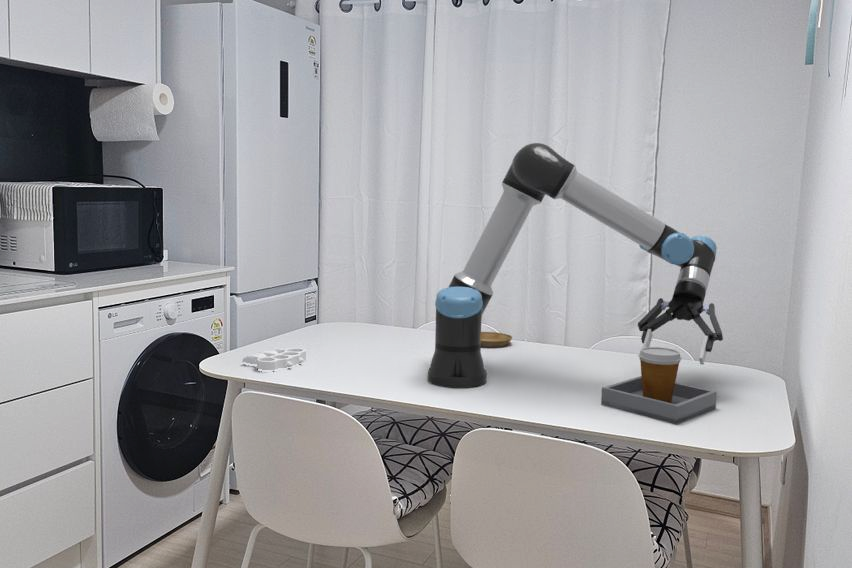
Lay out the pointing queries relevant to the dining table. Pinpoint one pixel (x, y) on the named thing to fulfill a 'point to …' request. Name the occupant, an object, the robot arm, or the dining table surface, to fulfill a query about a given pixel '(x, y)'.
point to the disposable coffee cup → (659, 372)
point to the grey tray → (679, 410)
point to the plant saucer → (494, 339)
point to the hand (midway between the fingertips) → (672, 357)
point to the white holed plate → (277, 358)
